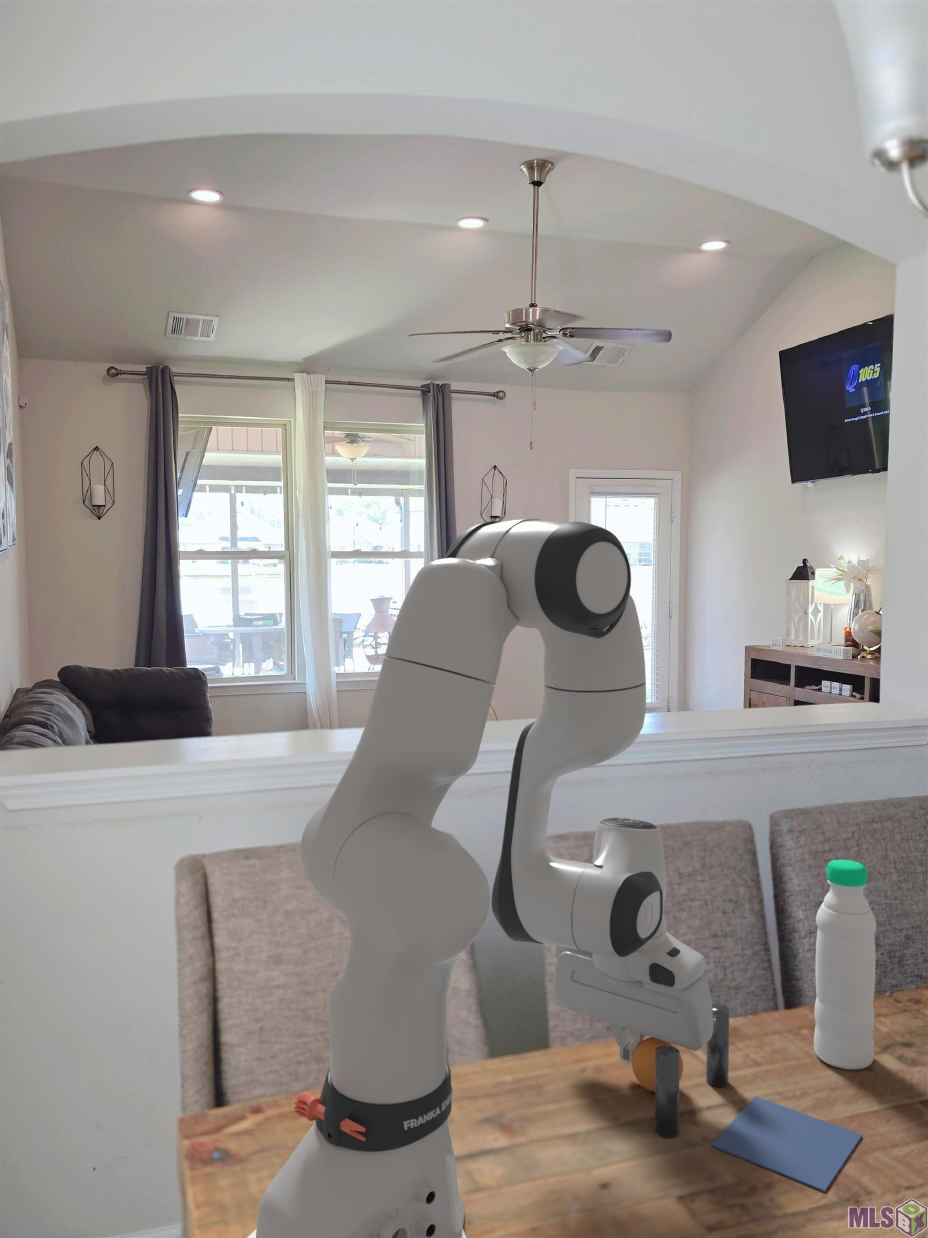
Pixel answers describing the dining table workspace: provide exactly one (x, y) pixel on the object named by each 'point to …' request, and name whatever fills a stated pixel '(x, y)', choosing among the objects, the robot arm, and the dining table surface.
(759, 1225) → the dining table surface
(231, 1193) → the dining table surface
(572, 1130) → the dining table surface
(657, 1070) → the near post
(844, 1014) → the water bottle
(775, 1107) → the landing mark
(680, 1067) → the ball
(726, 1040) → the far post
